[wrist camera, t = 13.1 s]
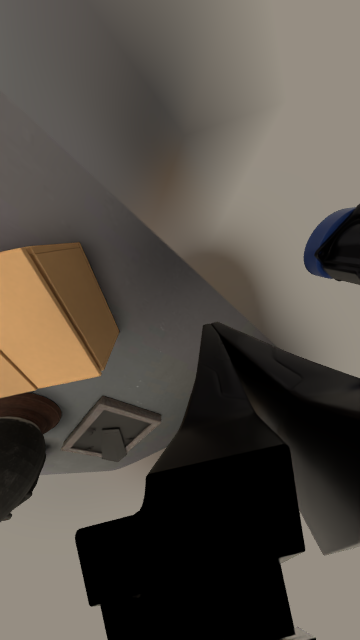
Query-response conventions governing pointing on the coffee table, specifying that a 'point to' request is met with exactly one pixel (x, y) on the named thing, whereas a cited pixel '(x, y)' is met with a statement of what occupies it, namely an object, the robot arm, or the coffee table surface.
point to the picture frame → (111, 429)
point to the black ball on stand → (22, 444)
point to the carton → (68, 308)
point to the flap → (38, 326)
